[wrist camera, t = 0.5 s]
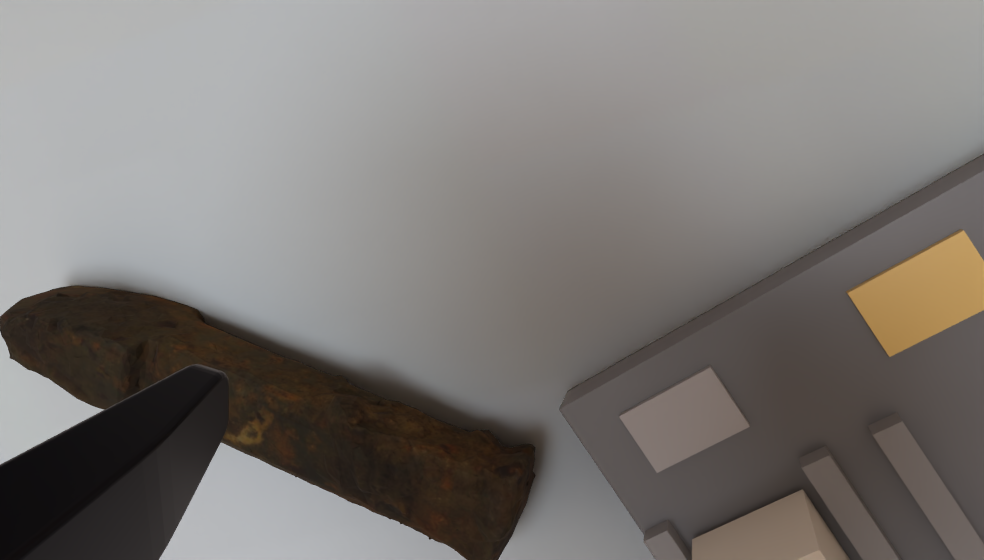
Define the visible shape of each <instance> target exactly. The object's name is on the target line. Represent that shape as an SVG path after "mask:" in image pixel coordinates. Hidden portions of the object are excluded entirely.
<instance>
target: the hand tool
mask: <svg viewBox="0 0 984 560" xmlns="http://www.w3.org/2000/svg"><path fill="white" fill-rule="evenodd" d="M0 332H1V335H2V337H3V339H4V340H5V342H6V344H7V347H8V350H9V353H10V358H11V359H13V360H15V361H17V362H18V363H20V364H21V365H22V366H24V367H25V368H26V369H28V370H32V371H34V372H36V373H39V374H40V375H42V376H44V377H46V378H49V379H50V380H52V381H53V382H54V383H56V384H57V385H59V386H60V387H62V388H63V389H64V390H66V391H67V392H69V393H70V394H71V395H73V396H74V397H76V398H77V399H79V400H81V401H83V402H85V403H88V404H90V405H92V406H95V407H98V408H101V409H104V410H105V409H107V408H109V407H111V406H113V405H115V404H117V403H119V402H121V401H122V400H124V399H126V398H128V397H130V396H132V395H134V394H136V393H138V392H140V391H141V390H143V389H145V388H147V387H149V386H151V385H153V384H155V383H157V382H159V381H160V380H162V379H164V378H166V377H168V376H170V375H172V374H174V373H176V372H178V371H179V370H181V369H183V368H185V367H187V366H190V365H194V364H199V365H203V366H206V367H210V368H213V369H216V370H219V371H222V372H224V373H225V374H226V375H227V377H228V382H229V420H228V425H227V429H226V432H225V434H224V436H223V439H222V441H221V442H222V443H224V444H226V445H228V446H230V447H232V448H235V449H237V450H239V451H241V452H243V453H245V454H248V455H250V456H253V457H255V458H258V459H260V460H262V461H264V462H266V463H268V464H270V465H272V466H273V467H276V468H278V469H280V470H283V471H285V472H287V473H289V474H292V475H294V476H295V477H298V478H301V479H303V480H305V481H307V482H309V483H311V484H313V485H316V486H318V487H320V488H322V489H324V490H327V491H329V492H332V493H334V494H336V495H338V496H339V497H342V498H344V499H346V500H348V502H349V501H350V502H352V503H355V504H357V505H359V506H363V507H365V508H367V509H369V510H370V511H372V512H374V513H377V514H380V515H382V516H385V517H387V518H389V519H393V520H396V521H398V522H400V524H404V525H406V526H409V527H411V528H413V529H414V530H416V531H418V532H421V533H423V534H424V535H426V536H428V537H429V540H430V539H433V540H435V541H438V542H441V543H444V544H446V545H448V546H450V547H451V548H453V549H455V551H457V552H458V553H459V554H460V555H462V556H463V557H464V558H466V559H467V560H498V559H499V557H500V555H501V553H502V552H503V550H504V548H505V546H506V545H507V543H508V542H509V540H510V538H511V537H512V535H513V532H514V530H515V527H516V525H517V523H518V520H519V518H520V516H521V514H522V512H523V510H524V508H525V506H526V503H527V500H528V496H529V493H530V489H531V486H532V483H533V480H534V477H535V474H534V472H533V468H534V460H535V454H534V452H535V447H534V446H533V445H531V444H523V445H519V446H515V447H512V448H508V447H505V446H502V445H501V444H500V443H499V441H498V439H497V438H496V437H495V436H494V435H493V434H492V433H491V432H490V431H489V430H480V431H479V430H475V431H472V432H469V431H466V430H463V429H460V428H458V427H456V426H453V425H450V424H447V423H444V422H442V421H439V420H437V419H435V418H432V417H430V416H428V415H426V414H424V413H423V412H421V411H419V410H418V409H415V408H412V407H409V406H406V405H404V404H402V403H400V402H397V401H391V400H386V399H384V398H381V397H379V396H377V395H374V394H372V393H370V392H368V391H365V390H363V389H360V388H358V387H356V386H354V385H352V384H350V383H349V382H348V381H347V380H346V379H345V378H344V377H343V376H332V375H329V374H327V373H324V372H321V371H319V370H316V369H314V368H311V367H309V366H307V365H305V364H303V363H301V362H299V361H295V360H291V359H288V358H285V357H283V356H280V355H278V354H275V353H273V352H271V351H268V350H266V349H263V348H261V347H259V346H257V345H254V344H251V343H249V342H247V341H245V340H243V339H240V338H238V337H236V336H233V335H231V334H229V333H226V332H224V331H221V330H219V329H216V328H214V327H211V326H209V325H206V324H205V322H204V319H203V317H202V316H201V314H200V313H199V311H198V310H197V309H194V308H192V307H189V306H186V305H183V304H180V303H177V302H174V301H170V300H167V299H163V298H159V297H155V296H150V295H145V294H138V293H133V292H126V291H120V290H114V289H106V288H95V287H82V286H68V287H60V288H56V289H52V290H50V291H47V292H43V293H40V294H36V295H33V296H30V297H27V298H24V299H21V300H20V301H19V302H17V303H16V304H15V305H13V306H12V307H11V308H10V309H8V310H7V311H6V312H5V313H4V314H3V315H2V316H0Z"/></svg>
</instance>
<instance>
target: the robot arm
mask: <svg viewBox="0 0 984 560" xmlns="http://www.w3.org/2000/svg"><path fill="white" fill-rule="evenodd" d="M228 420H229V382H228V377H227V375H226V374H225V373H224V372H222V371H219V370H216V369H213V368H210V367H206V366H203V365H199V364H194V365H190V366H187V367H185V368H183V369H181V370H179V371H178V372H176V373H174V374H172V375H170V376H168V377H166V378H164V379H162V380H160V381H159V382H157V383H155V384H153V385H151V386H149V387H147V388H145V389H143V390H141V391H140V392H138V393H136V394H134V395H132V396H130V397H128V398H126V399H124V400H122V401H121V402H119V403H117V404H115V405H113V406H111V407H109V408H107V409H105V410H103V411H101V412H100V413H98V414H96V415H94V416H92V417H90V418H88V419H86V420H84V421H82V422H81V423H79V424H77V425H75V426H73V427H71V428H69V429H67V430H65V431H63V432H62V433H60V434H58V435H56V436H54V437H52V438H50V439H48V440H46V441H44V442H43V443H41V444H39V445H37V446H35V447H33V448H31V449H29V450H27V451H25V452H24V453H22V454H20V455H18V456H16V457H14V458H12V459H10V460H8V461H6V462H4V463H3V464H1V465H0V560H159V558H160V557H161V555H162V553H163V552H164V550H165V549H166V547H167V545H168V543H169V541H170V539H171V538H172V536H173V534H174V532H175V530H176V528H177V526H178V524H179V522H180V520H181V519H182V517H183V515H184V513H185V511H186V509H187V507H188V505H189V503H190V501H191V499H192V497H193V495H194V493H195V491H196V489H197V487H198V485H199V483H200V482H201V480H202V478H203V476H204V474H205V472H206V470H207V468H208V466H209V464H210V462H211V460H212V458H213V456H214V454H215V452H216V450H217V448H218V446H219V444H220V443H221V441H222V439H223V436H224V434H225V432H226V429H227V425H228Z"/></svg>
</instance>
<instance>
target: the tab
mask: <svg viewBox="0 0 984 560" xmlns="http://www.w3.org/2000/svg"><path fill="white" fill-rule="evenodd" d="M692 560H850V559H849V557H848V556H847V554H846V553H845V551H844V550H843V549H842V547H841V546H840V544H839V543H838V541H837V540H836V538H835V537H834V535H833V534H832V532H831V531H830V529H829V528H828V526H827V525H826V523H825V522H824V520H823V519H822V517H821V516H820V514H819V513H818V511H817V510H816V508H815V507H814V505H813V504H812V502H811V501H810V499H809V498H808V496H807V495H806V493H805V492H804V490H803V489H802V490H800V491H798V492H795V493H793V494H791V495H789V496H787V497H784V498H782V499H780V500H778V501H775V502H773V503H771V504H769V505H767V506H764V507H762V508H760V509H758V510H756V511H753V512H751V513H749V514H747V515H745V516H742V517H740V518H738V519H736V520H734V521H731V522H729V523H727V524H725V525H723V526H720V527H718V528H716V529H714V530H712V531H709V532H707V533H705V534H703V535H701V536H698V537H696V538H694V539H692Z"/></svg>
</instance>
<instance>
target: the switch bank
mask: <svg viewBox="0 0 984 560" xmlns="http://www.w3.org/2000/svg"><path fill="white" fill-rule="evenodd" d="M559 410H560V412H561V413H562V415H563V416H564V418H565V419H566V421H567V422H568V423H569V425H570V426H571V428H572V429H573V431H574V432H575V434H576V435H577V437H578V438H579V440H580V441H581V443H582V444H583V446H584V447H585V449H586V450H587V451H588V453H589V454H590V456H591V457H592V459H593V460H594V462H595V463H596V465H597V466H598V468H599V469H600V471H601V472H602V474H603V475H604V476H605V478H606V479H607V481H608V482H609V484H610V485H611V487H612V488H613V490H614V491H615V493H616V494H617V496H618V497H619V499H620V500H621V502H622V503H623V504H624V506H625V507H626V509H627V510H628V512H629V513H630V515H631V516H632V518H633V519H634V521H635V522H636V524H637V525H638V527H639V528H640V529H641V531H642V532H643V534H644V543H645V544H646V546H647V547H648V549H649V550H650V552H651V553H652V555H653V556H654V558H655V559H656V560H692V539H694V538H696V537H698V536H701V535H703V534H705V533H707V532H709V531H712V530H714V529H716V528H718V527H720V526H723V525H725V524H727V523H729V522H731V521H734V520H736V519H738V518H740V517H742V516H745V515H747V514H749V513H751V512H753V511H756V510H758V509H760V508H762V507H764V506H767V505H769V504H771V503H773V502H775V501H778V500H780V499H782V498H784V497H787V496H789V495H791V494H793V493H795V492H798V491H800V490H802V489H803V490H804V492H805V493H806V495H807V496H808V498H809V499H810V501H811V502H812V504H813V505H814V507H815V508H816V510H817V511H818V513H819V514H820V516H821V517H822V519H823V520H824V522H825V523H826V525H827V526H828V528H829V529H830V531H831V532H832V534H833V535H834V537H835V538H836V540H837V541H838V543H839V544H840V546H841V547H842V549H843V550H844V551H845V553H846V554H847V556H848V557H849V559H850V560H984V154H983V155H981V156H980V157H978V158H976V159H974V160H973V161H971V162H969V163H967V164H966V165H964V166H962V167H960V168H959V169H957V170H955V171H953V172H952V173H950V174H948V175H946V176H945V177H943V178H941V179H939V180H938V181H936V182H934V183H932V184H931V185H929V186H927V187H925V188H924V189H922V190H920V191H918V192H917V193H915V194H913V195H911V196H910V197H908V198H906V199H904V200H903V201H901V202H899V203H897V204H895V205H894V206H892V207H890V208H888V209H887V210H885V211H883V212H881V213H880V214H878V215H876V216H874V217H873V218H871V219H869V220H867V221H866V222H864V223H862V224H860V225H859V226H857V227H855V228H853V229H852V230H850V231H848V232H846V233H845V234H843V235H841V236H839V237H838V238H836V239H834V240H832V241H831V242H829V243H827V244H825V245H824V246H822V247H820V248H818V249H817V250H815V251H813V252H811V253H810V254H808V255H806V256H804V257H803V258H801V259H799V260H797V261H795V262H794V263H792V264H790V265H788V266H787V267H785V268H783V269H781V270H780V271H778V272H776V273H774V274H773V275H771V276H769V277H767V278H766V279H764V280H762V281H760V282H759V283H757V284H755V285H753V286H752V287H750V288H748V289H746V290H745V291H743V292H741V293H739V294H738V295H736V296H734V297H732V298H731V299H729V300H727V301H725V302H724V303H722V304H720V305H718V306H717V307H715V308H713V309H711V310H710V311H708V312H706V313H704V314H703V315H701V316H699V317H697V318H695V319H694V320H692V321H690V322H688V323H687V324H685V325H683V326H681V327H680V328H678V329H676V330H674V331H673V332H671V333H669V334H667V335H666V336H664V337H662V338H660V339H659V340H657V341H655V342H653V343H652V344H650V345H648V346H646V347H645V348H643V349H641V350H639V351H638V352H636V353H634V354H632V355H631V356H629V357H627V358H625V359H624V360H622V361H620V362H618V363H617V364H615V365H613V366H611V367H610V368H608V369H606V370H604V371H603V372H601V373H599V374H597V375H595V376H594V377H592V378H590V379H588V380H587V381H585V382H583V383H581V384H580V385H578V386H576V387H574V388H573V389H571V390H569V391H567V393H566V396H565V398H564V400H563V402H562V404H561V406H560V408H559Z"/></svg>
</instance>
